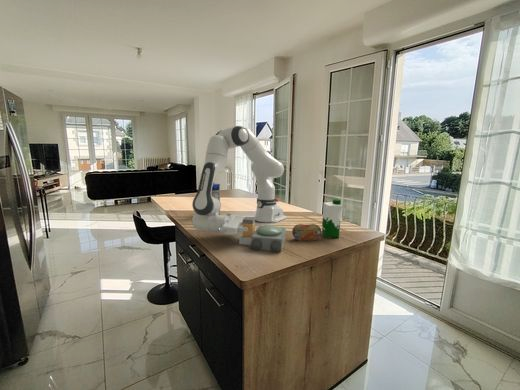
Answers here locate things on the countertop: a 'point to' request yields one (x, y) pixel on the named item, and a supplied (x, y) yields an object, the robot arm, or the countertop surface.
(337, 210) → the milk carton
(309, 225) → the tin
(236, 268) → the countertop surface
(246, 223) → the orange gray block
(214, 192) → the beverage box
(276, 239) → the gray toy machine
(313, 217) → the countertop surface
